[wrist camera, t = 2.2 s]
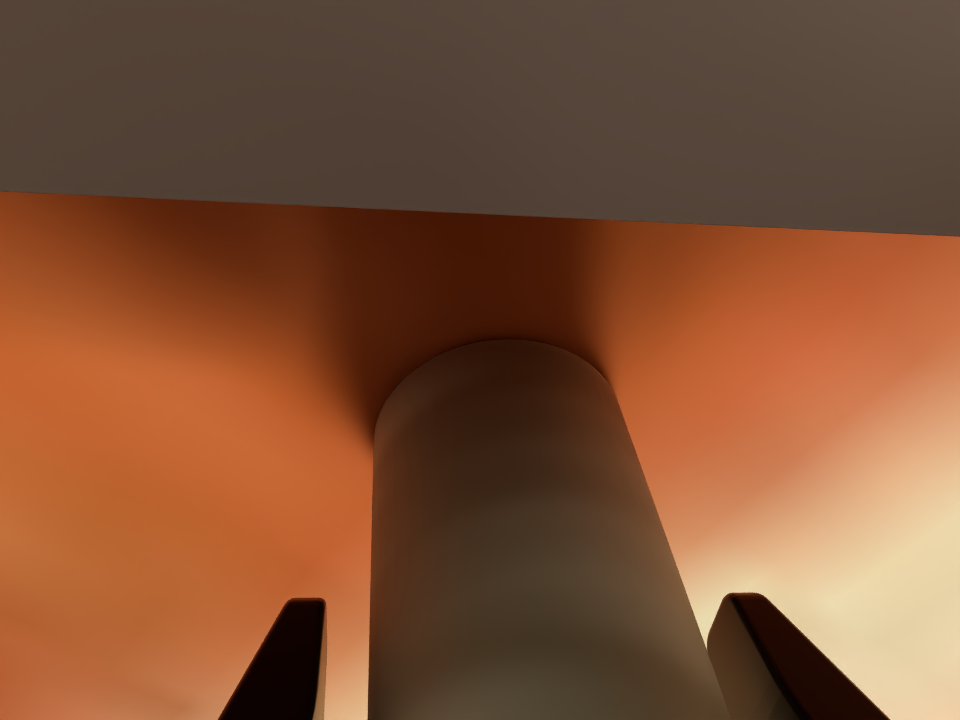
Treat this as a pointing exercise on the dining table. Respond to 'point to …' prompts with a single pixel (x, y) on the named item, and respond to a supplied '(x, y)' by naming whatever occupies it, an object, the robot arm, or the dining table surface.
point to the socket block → (496, 107)
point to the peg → (522, 552)
